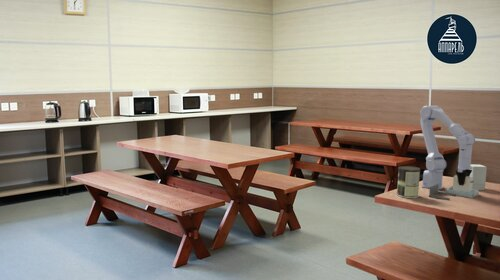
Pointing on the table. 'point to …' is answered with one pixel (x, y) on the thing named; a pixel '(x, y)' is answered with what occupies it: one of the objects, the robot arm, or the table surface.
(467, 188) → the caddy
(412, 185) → the coffee can
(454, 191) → the tray
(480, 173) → the supplement box
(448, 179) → the table surface
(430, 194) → the dock
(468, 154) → the robot arm
